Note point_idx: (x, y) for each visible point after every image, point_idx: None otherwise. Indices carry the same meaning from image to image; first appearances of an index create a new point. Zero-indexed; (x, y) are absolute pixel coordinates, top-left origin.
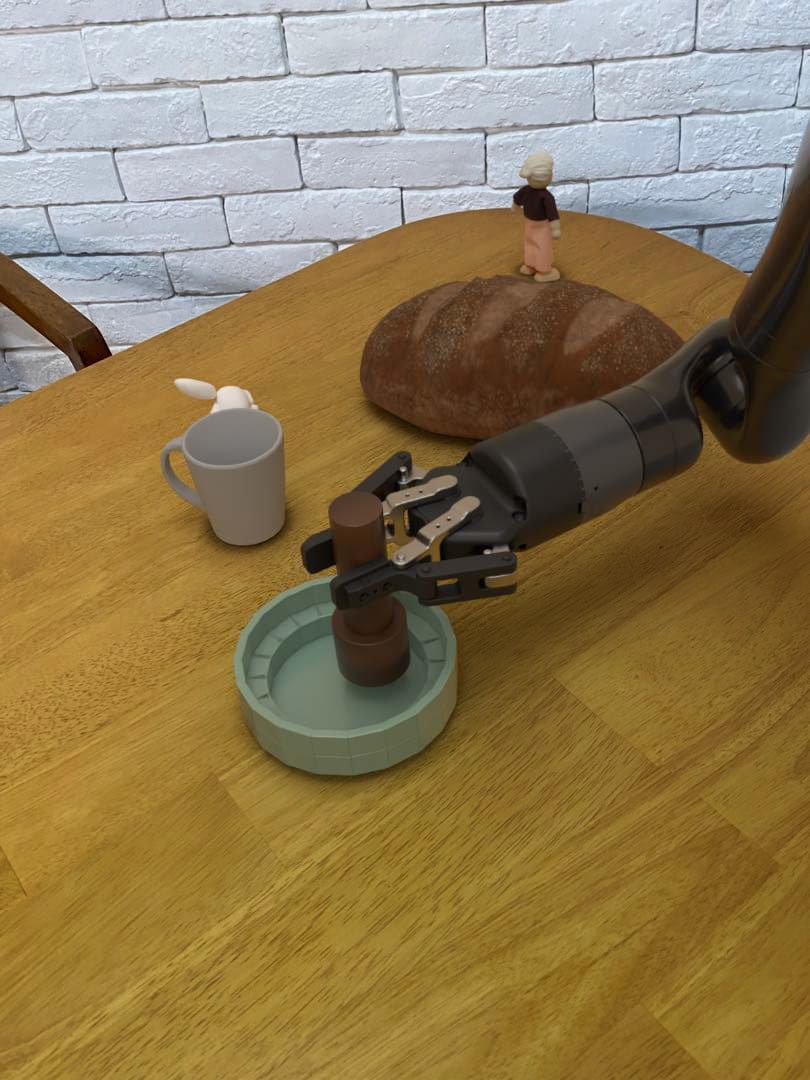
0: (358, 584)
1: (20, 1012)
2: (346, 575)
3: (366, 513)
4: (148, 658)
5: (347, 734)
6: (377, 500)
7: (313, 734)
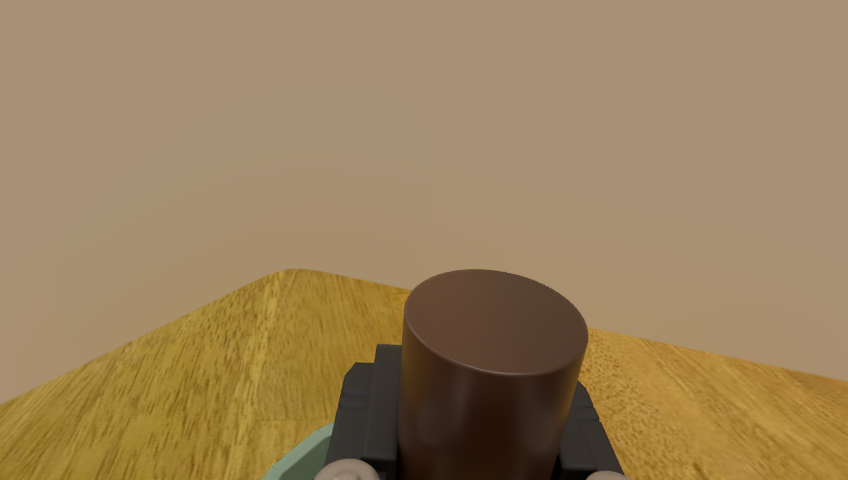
0: (360, 385)
1: (316, 274)
2: (391, 363)
3: (449, 317)
4: (623, 428)
5: (275, 468)
6: (501, 367)
7: (315, 433)
